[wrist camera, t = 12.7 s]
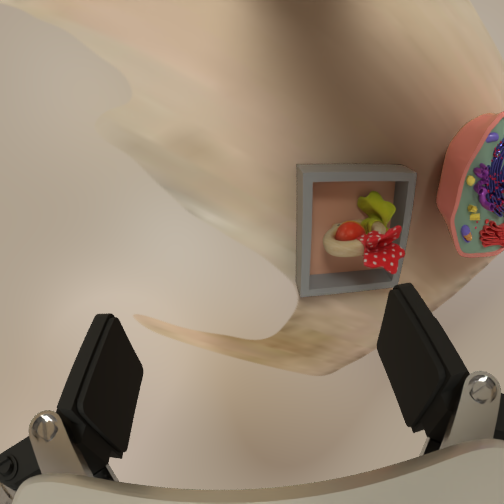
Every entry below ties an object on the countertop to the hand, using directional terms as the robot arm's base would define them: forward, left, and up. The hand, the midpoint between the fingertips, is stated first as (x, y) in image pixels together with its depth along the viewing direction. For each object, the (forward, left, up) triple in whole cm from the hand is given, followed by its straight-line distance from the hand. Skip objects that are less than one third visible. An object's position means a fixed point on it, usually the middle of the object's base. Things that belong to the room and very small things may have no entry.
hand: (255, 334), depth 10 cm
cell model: (+1, +30, -25) cm, 39 cm away
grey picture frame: (+8, +12, -25) cm, 29 cm away
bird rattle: (+7, +12, -25) cm, 29 cm away
